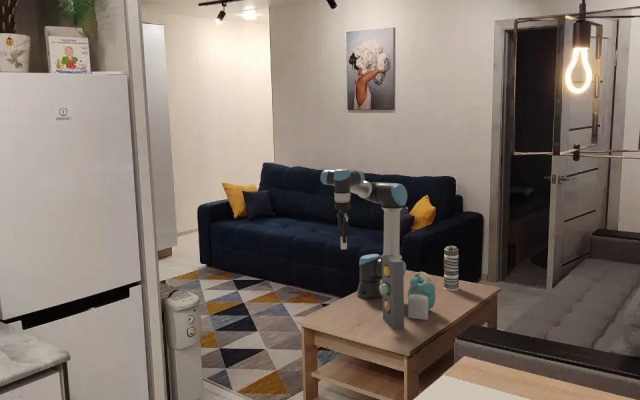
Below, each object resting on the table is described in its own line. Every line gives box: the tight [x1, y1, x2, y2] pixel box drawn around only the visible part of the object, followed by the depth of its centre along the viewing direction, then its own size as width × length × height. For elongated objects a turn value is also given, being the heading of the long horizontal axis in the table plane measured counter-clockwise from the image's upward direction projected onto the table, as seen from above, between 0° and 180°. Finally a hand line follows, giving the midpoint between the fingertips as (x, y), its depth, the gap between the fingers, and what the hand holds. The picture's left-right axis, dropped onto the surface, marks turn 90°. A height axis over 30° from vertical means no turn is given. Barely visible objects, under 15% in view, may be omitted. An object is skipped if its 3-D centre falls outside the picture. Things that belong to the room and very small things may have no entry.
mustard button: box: [384, 266, 390, 276], centre depth 294 cm, size 4×5×5 cm
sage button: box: [379, 283, 390, 294], centre depth 294 cm, size 4×5×5 cm
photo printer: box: [407, 294, 429, 321], centre depth 303 cm, size 10×4×12 cm, turn 69°
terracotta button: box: [385, 301, 390, 311], centre depth 297 cm, size 4×5×5 cm
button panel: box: [381, 254, 405, 329], centre depth 296 cm, size 6×14×33 cm, turn 16°
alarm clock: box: [407, 271, 436, 310], centre depth 314 cm, size 17×10×20 cm, turn 23°
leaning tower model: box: [442, 245, 460, 292], centre depth 347 cm, size 9×9×25 cm
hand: (343, 248), depth 293 cm, fingers closed
